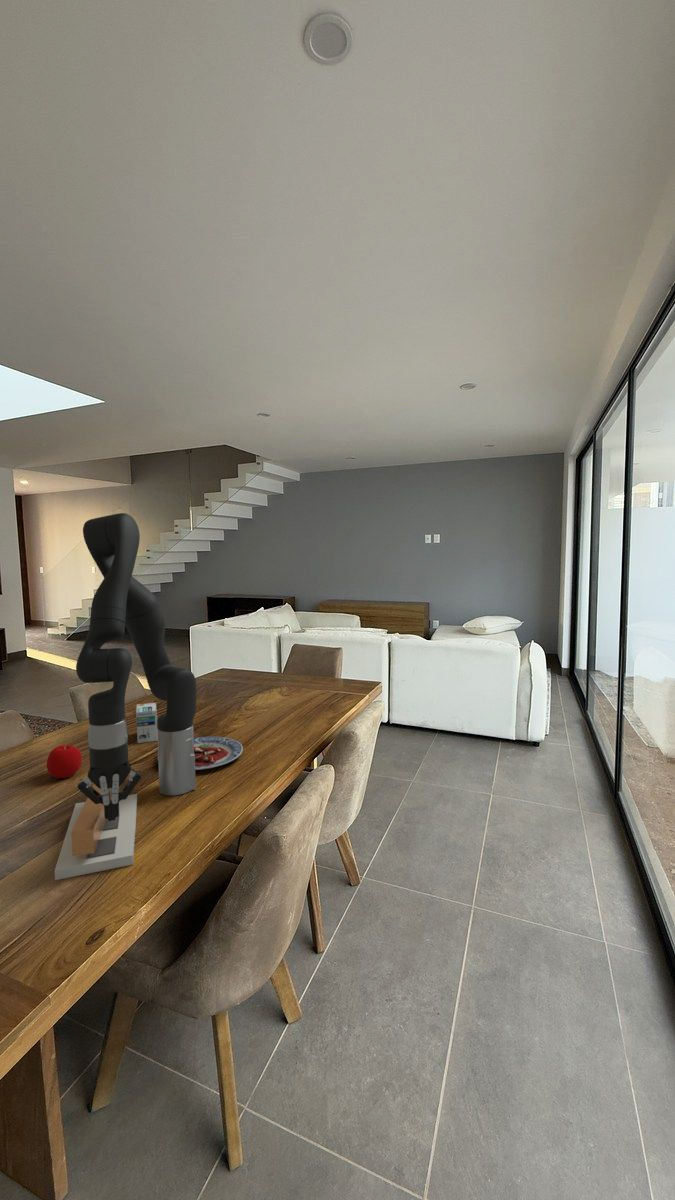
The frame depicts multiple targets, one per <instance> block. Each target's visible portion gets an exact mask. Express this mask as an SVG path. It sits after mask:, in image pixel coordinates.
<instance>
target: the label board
mask: <svg viewBox="0 0 675 1200" xmlns="http://www.w3.org/2000/svg"><path fill="white" fill-rule="evenodd" d="M85 802H86V801H82V802H76V803H75V805H74V808H73V811H72V814H71V818H70V820H69V824H68V828H67V829H66V834H65V837H64V840H63V842H62V847H61V850H60V853H59V856H58V859H57V862H56V865H55V868H54V881H59V880H63V879H68V878H73V877H74V878H75V877H78V876H83V875H87V874H93V873H97V872H98V873H99V872H103V871H109V870H113V869H118V868H122V867H127V866H132V865H134V856H135V855H134V854H135V843H136V842H135V840H136V839H135V838H136V826H137V814H138V813H137V812H138V811H137V810H138V794H137V793H135V794H134V793H133V794H129V795H128V797H127V798H126V799H124V800H121V801H119V816H118V817H116V820H113V821H108V819H106V822H105V825H104V828H103V831H102V833H101V836H100V839H99V842H98V845H97V847H96V850H95V853H91V854H84V855H78V856H72V840H71V831H72V829H73V827H74V825H75V823H76V821H77V819H78V817H79V814H80V812H81V810H82V808H83V806H84V804H85ZM134 842H135V843H134Z"/></svg>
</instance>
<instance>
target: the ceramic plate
mask: <svg viewBox="0 0 675 1200" xmlns="http://www.w3.org/2000/svg"><path fill="white" fill-rule="evenodd" d="M243 751H244V748H243V745H242V743H240V741H237V740H236V739H232V738H229V737H228V738H227V737H223V736H201V737H194V755H195V771H198V770H199V771H200V770H201V771H202V770H207V769H213V768H217V767H220V766H224V765H226V764H229V763H231V762H233V761H235V760H236V759H238V758H239V757H240V756H241V755H242V754H243Z"/></svg>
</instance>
